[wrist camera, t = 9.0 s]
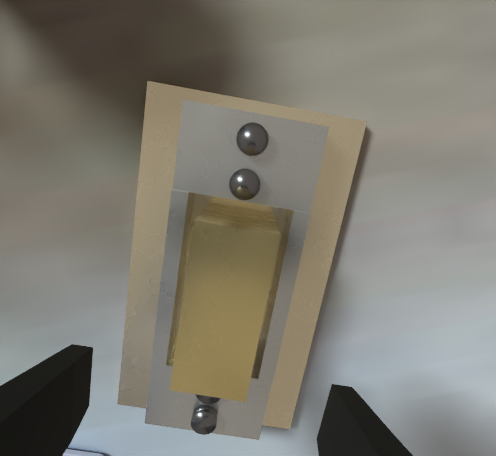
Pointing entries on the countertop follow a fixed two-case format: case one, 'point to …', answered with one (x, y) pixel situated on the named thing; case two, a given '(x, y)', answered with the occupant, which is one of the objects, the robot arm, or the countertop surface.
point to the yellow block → (224, 300)
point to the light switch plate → (242, 196)
